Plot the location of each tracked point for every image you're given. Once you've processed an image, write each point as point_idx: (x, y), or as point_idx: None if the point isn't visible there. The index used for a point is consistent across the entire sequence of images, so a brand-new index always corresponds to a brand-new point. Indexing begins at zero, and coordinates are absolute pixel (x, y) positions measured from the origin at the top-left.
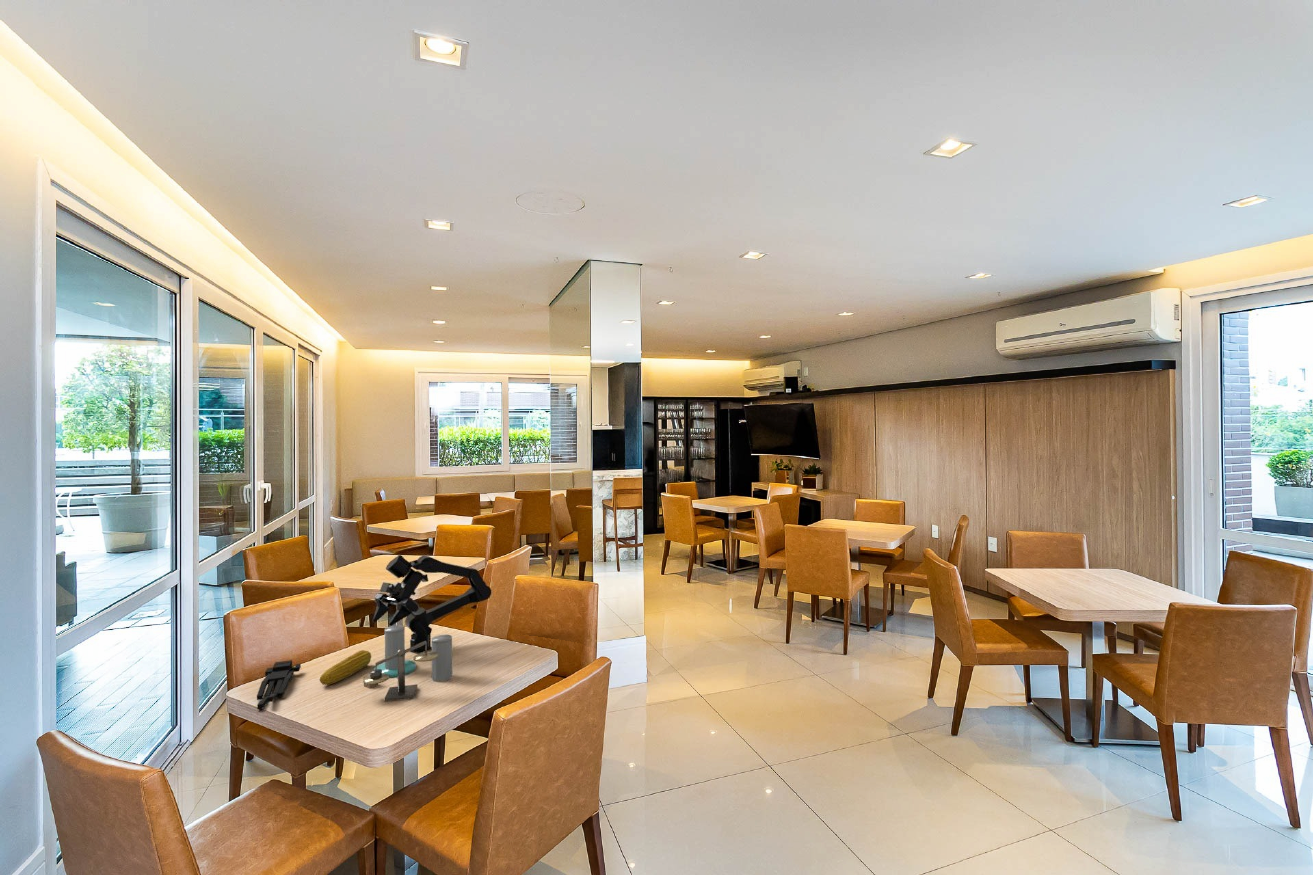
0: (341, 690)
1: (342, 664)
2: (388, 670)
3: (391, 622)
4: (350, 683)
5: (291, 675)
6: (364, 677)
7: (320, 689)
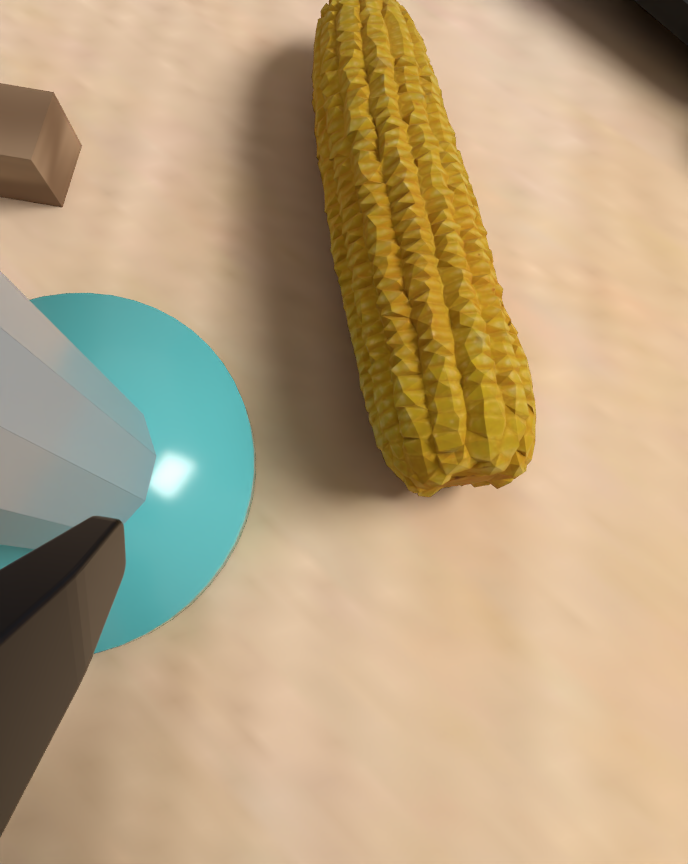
0: (185, 56)
1: (368, 115)
2: None
3: (48, 555)
4: (227, 157)
5: (669, 5)
6: (44, 91)
7: None
